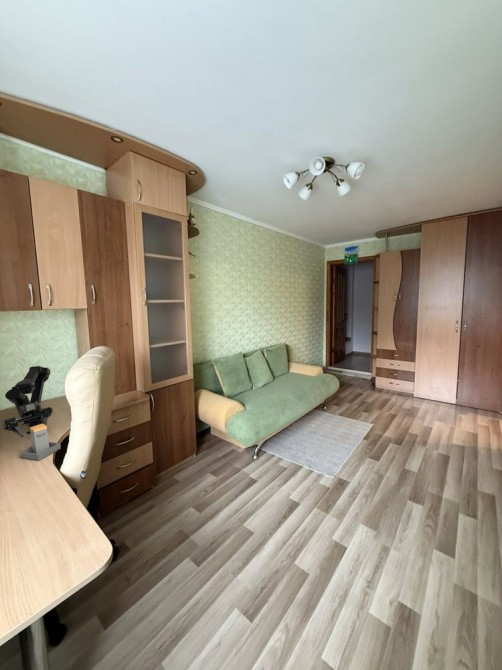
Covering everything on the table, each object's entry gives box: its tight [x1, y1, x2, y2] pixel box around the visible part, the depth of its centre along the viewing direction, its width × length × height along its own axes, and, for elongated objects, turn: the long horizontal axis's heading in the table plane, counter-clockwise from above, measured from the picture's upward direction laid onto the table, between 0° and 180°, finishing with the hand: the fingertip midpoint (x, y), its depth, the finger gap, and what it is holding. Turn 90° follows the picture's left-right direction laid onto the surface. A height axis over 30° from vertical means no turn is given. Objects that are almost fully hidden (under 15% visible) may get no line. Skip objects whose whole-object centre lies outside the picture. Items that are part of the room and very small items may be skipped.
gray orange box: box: [29, 424, 50, 454], centre depth 125 cm, size 6×5×12 cm
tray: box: [19, 441, 62, 462], centre depth 126 cm, size 11×11×3 cm
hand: (34, 432), depth 128 cm, fingers open, 9 cm apart
